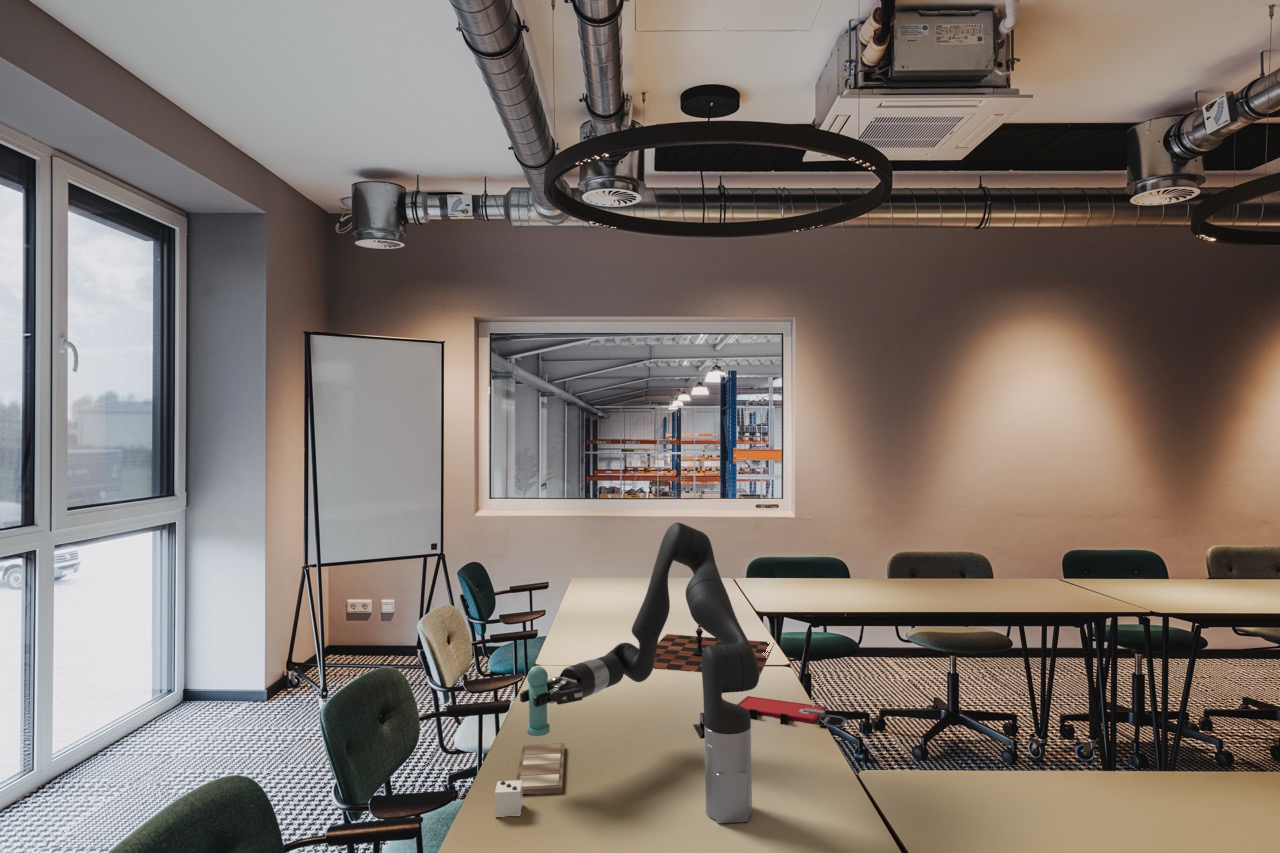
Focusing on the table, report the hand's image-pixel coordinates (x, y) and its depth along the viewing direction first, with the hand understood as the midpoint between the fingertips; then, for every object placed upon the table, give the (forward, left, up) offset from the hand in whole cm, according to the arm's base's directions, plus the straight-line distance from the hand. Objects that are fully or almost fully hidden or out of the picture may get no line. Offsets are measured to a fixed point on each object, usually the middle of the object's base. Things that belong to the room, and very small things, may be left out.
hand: (528, 699), depth 166 cm
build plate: (+29, -43, -20) cm, 56 cm away
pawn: (+2, -2, -8) cm, 8 cm away
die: (-8, +4, -19) cm, 21 cm away
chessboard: (+96, -54, -20) cm, 112 cm away
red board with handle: (+37, -67, -20) cm, 79 cm away
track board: (+10, -2, -19) cm, 22 cm away
